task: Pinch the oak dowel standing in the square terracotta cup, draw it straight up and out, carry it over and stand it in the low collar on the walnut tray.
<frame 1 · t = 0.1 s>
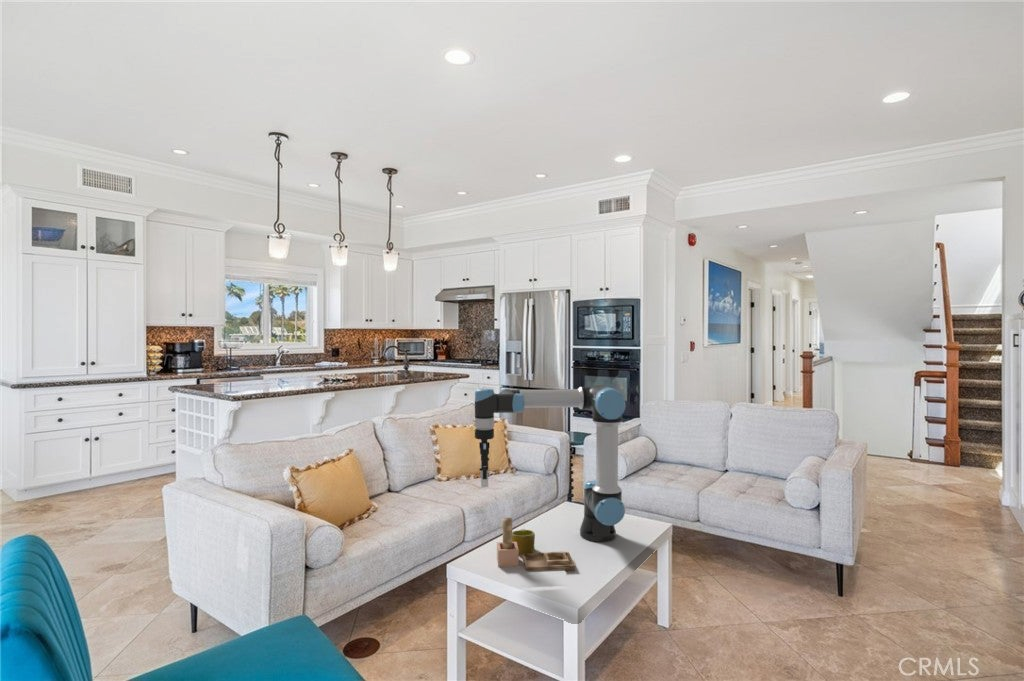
hand: (484, 482, 211), 28 cm above the table, fingers open, 13 cm apart
dowel: (507, 561, 201), point 1 cm above the table, touching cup
mug: (523, 551, 213), on the table
tray: (548, 565, 200), on the table
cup: (507, 564, 201), on the table
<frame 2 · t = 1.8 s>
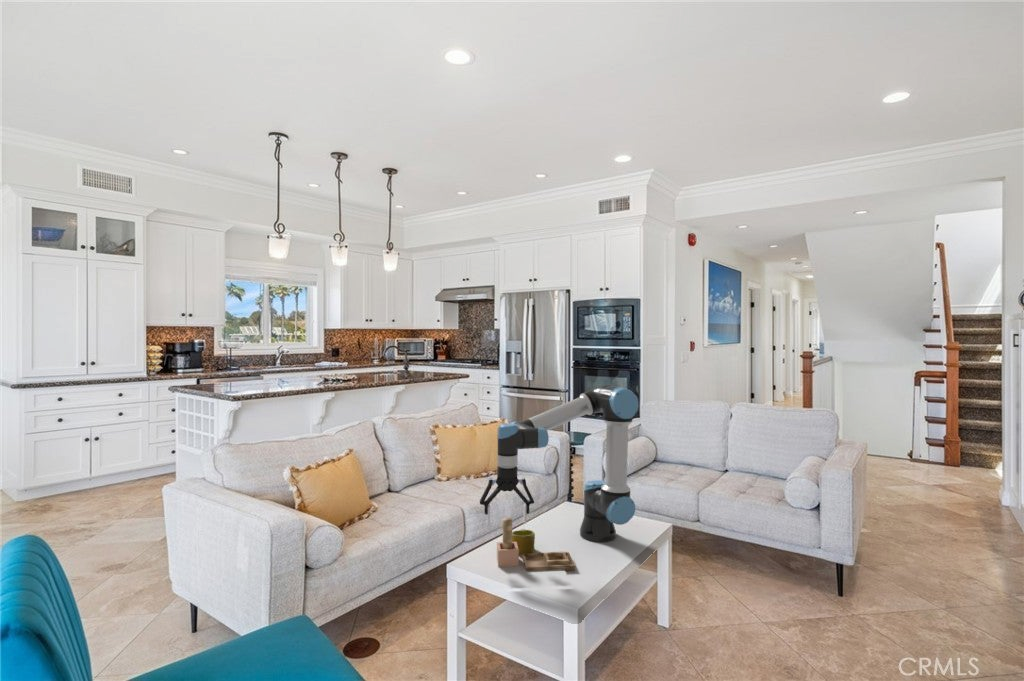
hand: (506, 522, 201), 16 cm above the table, fingers open, 13 cm apart
nothing on the table moved.
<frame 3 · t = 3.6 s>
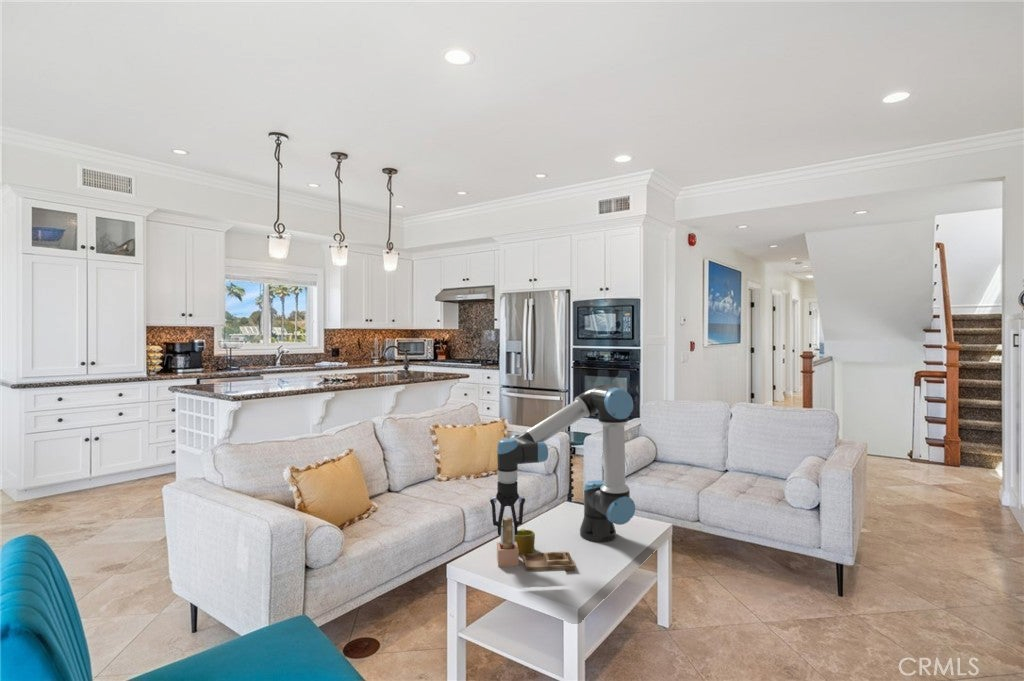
hand: (507, 543, 201), 8 cm above the table, fingers closed on dowel, 3 cm apart
dowel: (507, 561, 201), point 1 cm above the table, touching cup, gripper
everything else where it was.
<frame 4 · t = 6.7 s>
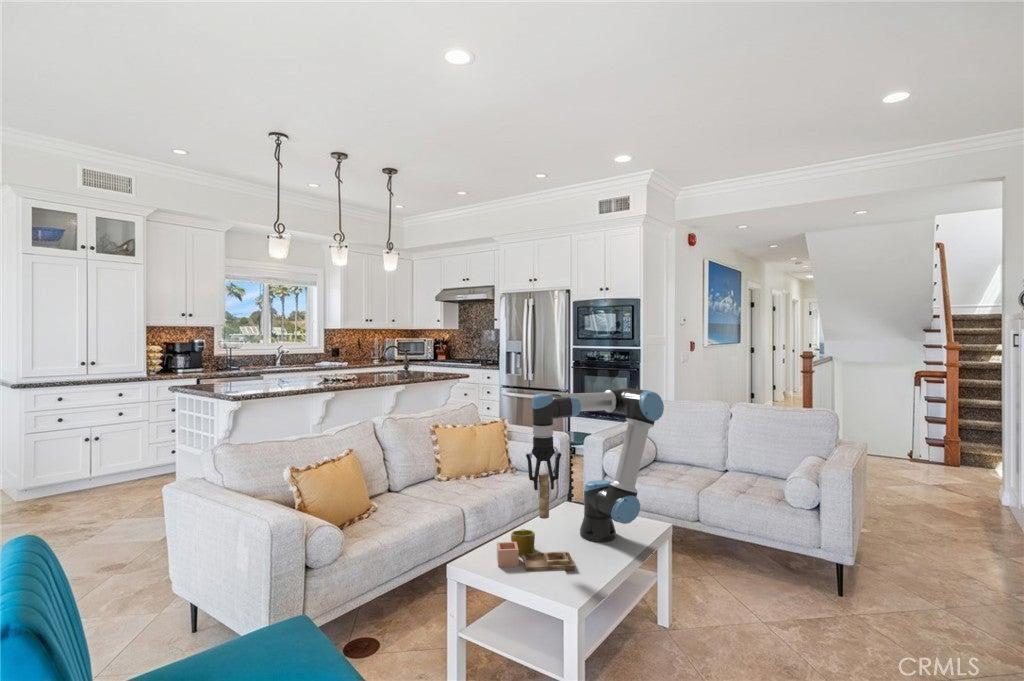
hand: (544, 498, 201), 25 cm above the table, fingers closed on dowel, 3 cm apart
dowel: (544, 516, 201), point 18 cm above the table, touching gripper
everything else where it was.
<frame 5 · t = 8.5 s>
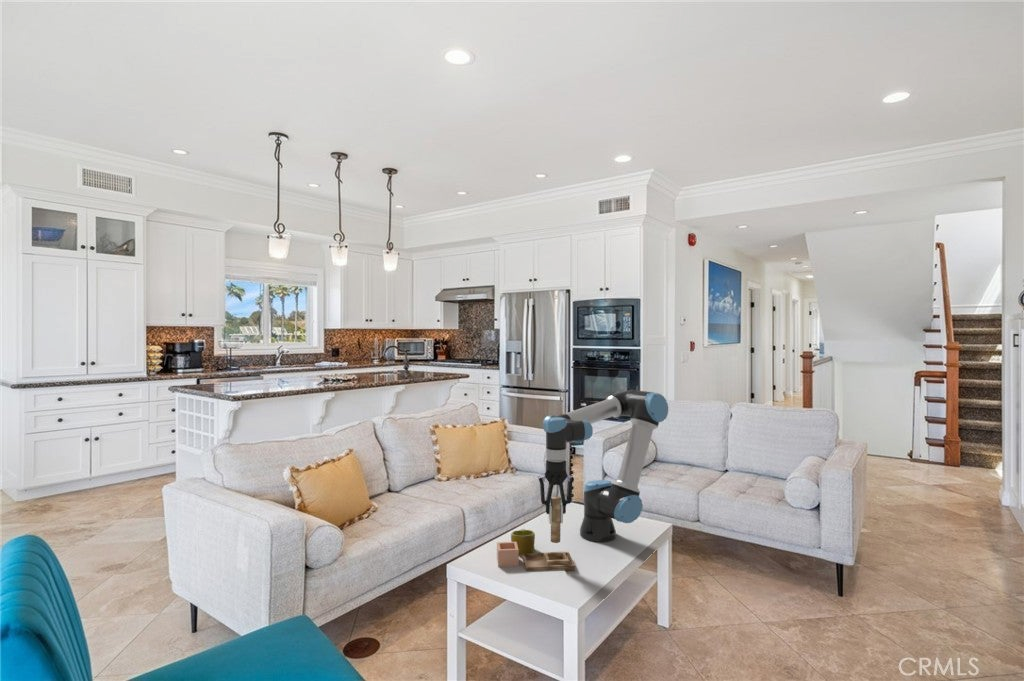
hand: (555, 522, 200), 16 cm above the table, fingers closed on dowel, 3 cm apart
dowel: (555, 541, 200), point 9 cm above the table, touching gripper
everything else where it was.
when the fingers open (10 cm above the table, at t = 10.1 s): dowel drops 2 cm, resting on tray.
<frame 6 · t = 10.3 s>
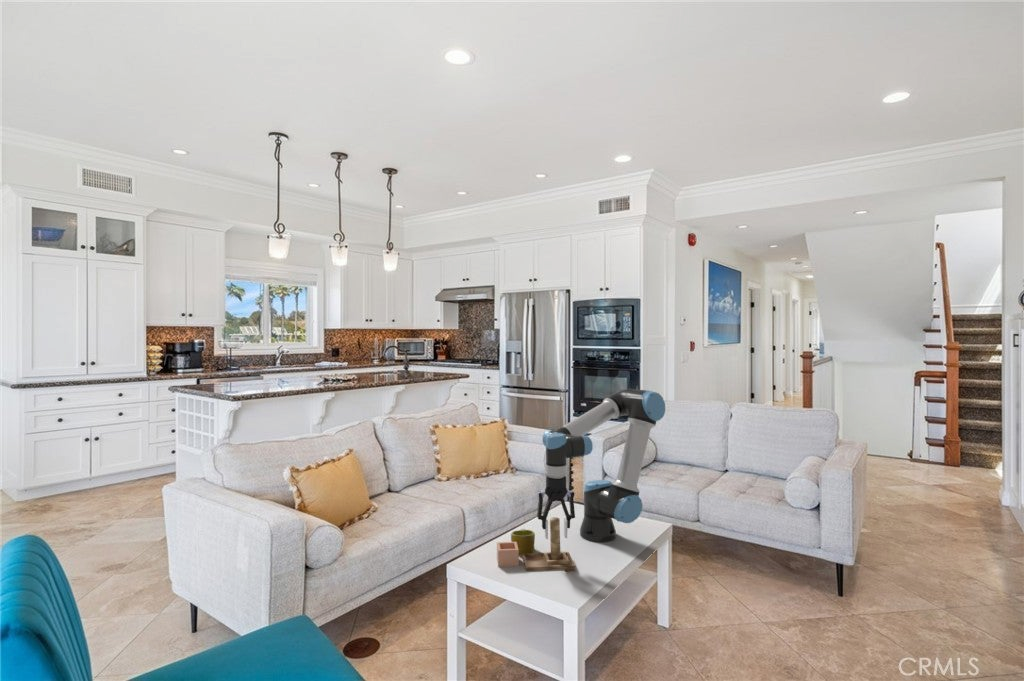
hand: (556, 537, 201), 10 cm above the table, fingers open, 7 cm apart
dowel: (555, 561, 201), point 1 cm above the table, touching tray
everything else where it was.
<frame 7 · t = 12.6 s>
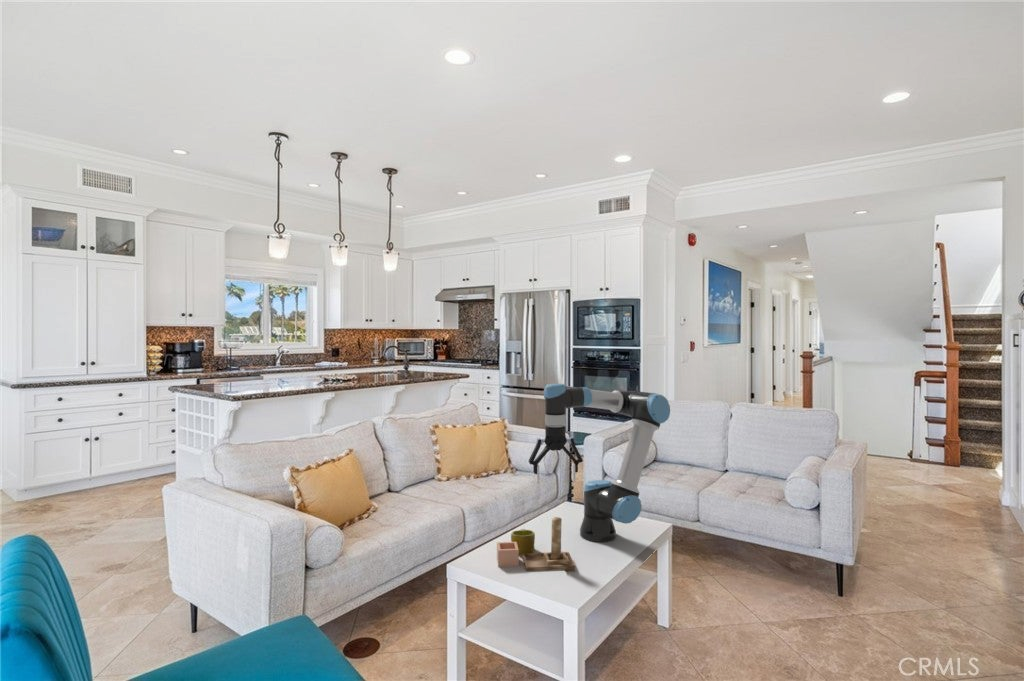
hand: (555, 481, 202), 31 cm above the table, fingers open, 13 cm apart
nothing on the table moved.
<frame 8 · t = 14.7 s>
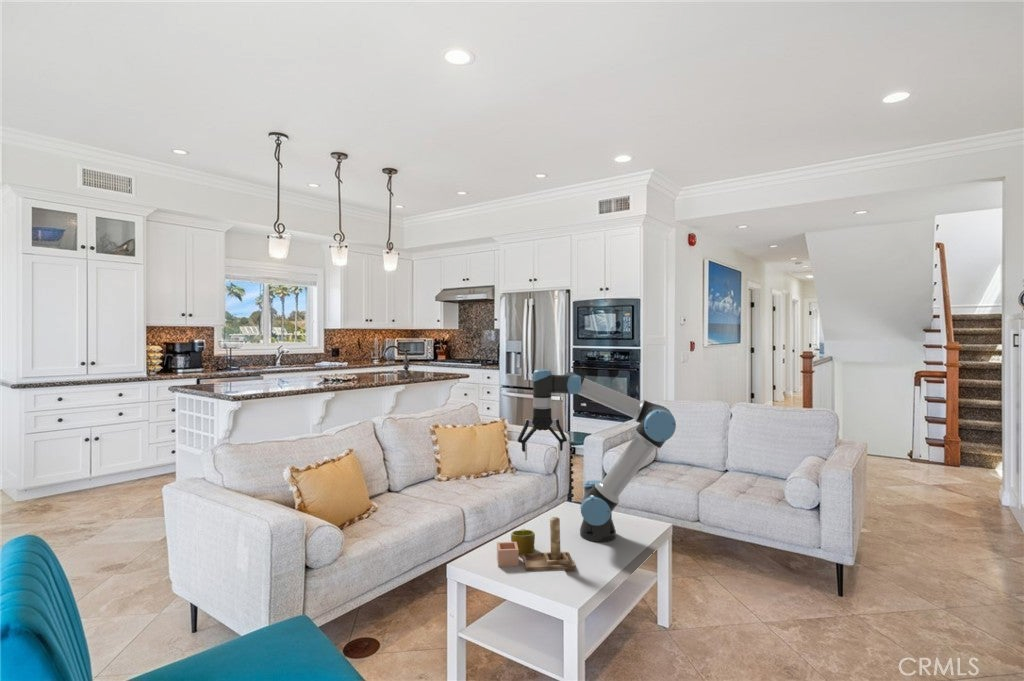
hand: (542, 459, 221), 35 cm above the table, fingers open, 13 cm apart
nothing on the table moved.
at the end: dowel 0.0 cm from the target spot on the tray, point 1.2 cm above the tray's base; dowel tilted 1°; the gripper is holding nothing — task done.
